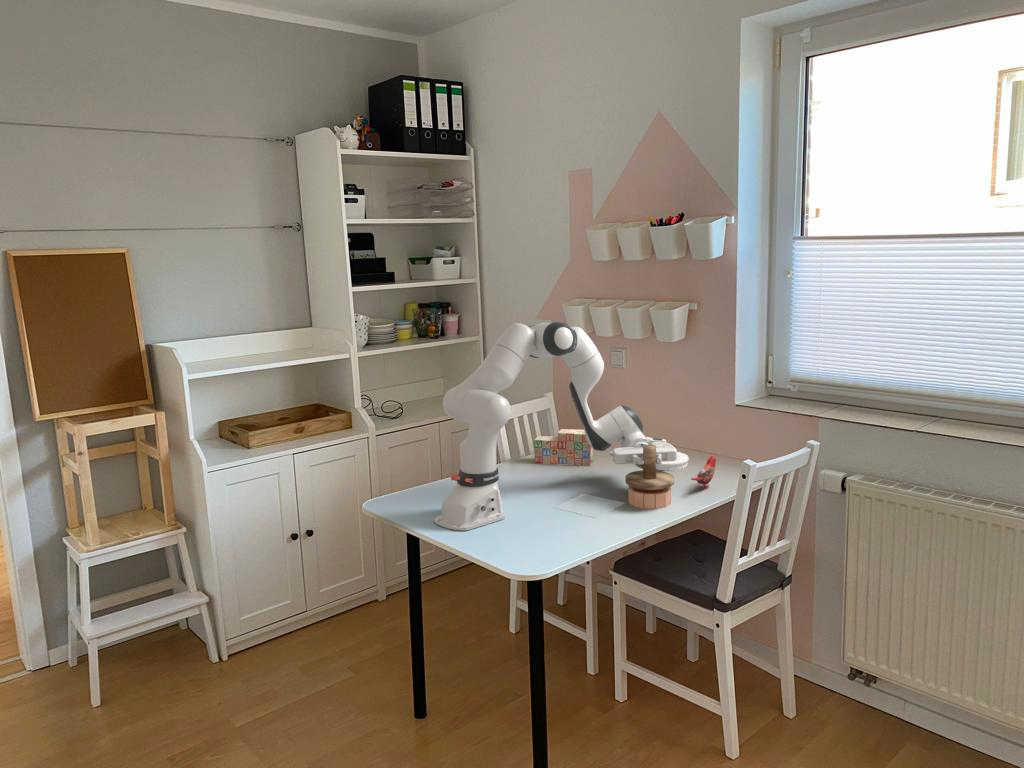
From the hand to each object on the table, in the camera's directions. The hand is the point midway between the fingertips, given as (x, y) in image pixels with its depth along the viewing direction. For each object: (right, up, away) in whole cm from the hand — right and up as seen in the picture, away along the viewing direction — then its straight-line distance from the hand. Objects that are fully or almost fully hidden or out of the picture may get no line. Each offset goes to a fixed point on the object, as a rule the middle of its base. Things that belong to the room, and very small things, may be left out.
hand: (650, 461), depth 240 cm
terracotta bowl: (0, -13, +3) cm, 14 cm away
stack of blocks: (-23, -6, +50) cm, 55 cm away
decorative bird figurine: (+20, -11, +13) cm, 26 cm away
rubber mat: (-19, -14, +2) cm, 23 cm away
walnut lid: (0, -6, +2) cm, 7 cm away
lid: (+13, -5, +45) cm, 47 cm away
